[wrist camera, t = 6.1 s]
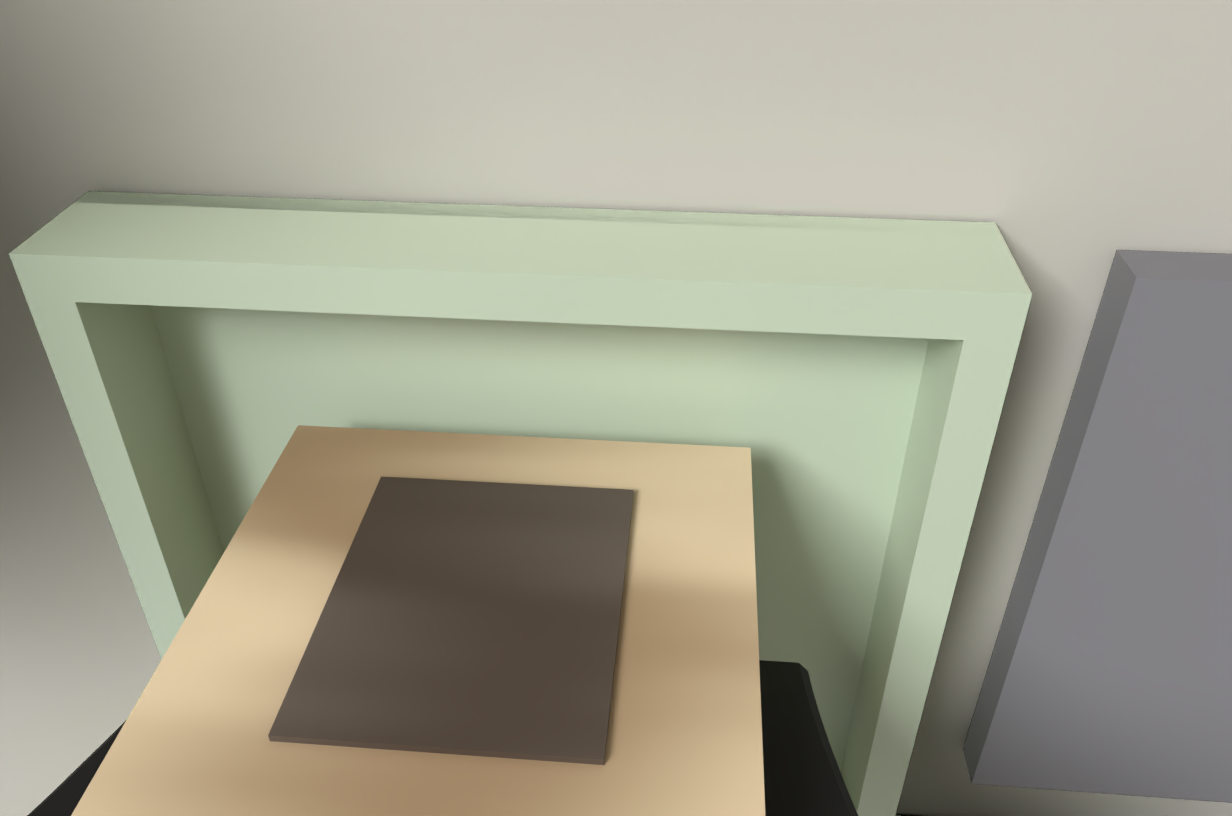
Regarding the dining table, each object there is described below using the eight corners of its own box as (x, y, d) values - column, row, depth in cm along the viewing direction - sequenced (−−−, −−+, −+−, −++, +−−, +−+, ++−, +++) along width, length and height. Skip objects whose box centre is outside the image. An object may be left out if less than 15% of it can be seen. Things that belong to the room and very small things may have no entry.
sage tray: (264, 748, 16) (227, 833, 15) (87, 191, 11) (8, 253, 10) (865, 793, 16) (876, 886, 14) (994, 223, 10) (1032, 293, 9)
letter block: (361, 716, 14) (217, 1130, 10) (297, 419, 11) (56, 829, 7) (722, 742, 14) (723, 1180, 10) (751, 442, 11) (769, 885, 7)
